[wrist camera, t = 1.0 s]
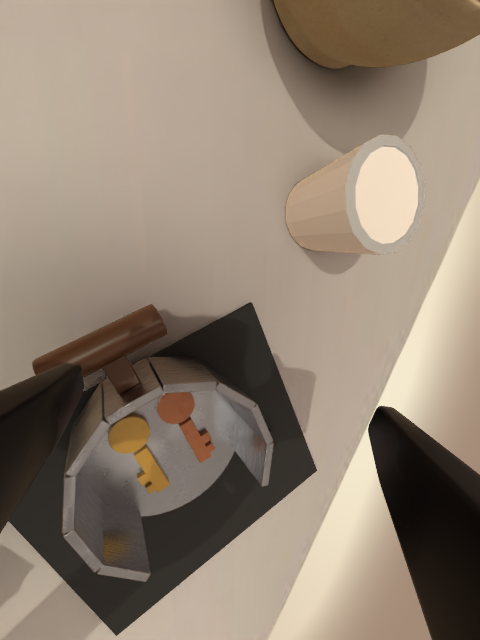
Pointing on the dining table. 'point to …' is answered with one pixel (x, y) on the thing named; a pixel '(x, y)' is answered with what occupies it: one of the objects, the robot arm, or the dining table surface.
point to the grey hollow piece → (164, 442)
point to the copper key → (185, 421)
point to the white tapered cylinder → (360, 200)
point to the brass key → (138, 450)
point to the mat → (201, 513)
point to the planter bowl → (377, 29)
